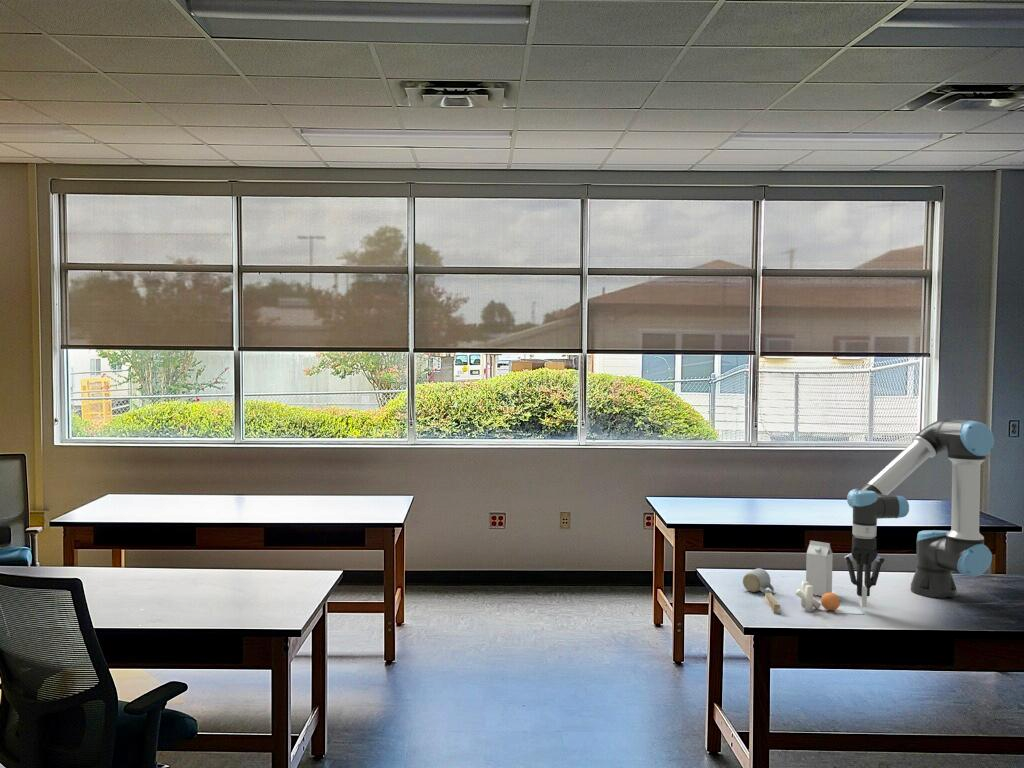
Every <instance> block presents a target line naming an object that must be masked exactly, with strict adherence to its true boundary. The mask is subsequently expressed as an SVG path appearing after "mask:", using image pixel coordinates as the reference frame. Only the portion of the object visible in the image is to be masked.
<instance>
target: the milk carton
mask: <svg viewBox="0 0 1024 768" xmlns="http://www.w3.org/2000/svg"><path fill="white" fill-rule="evenodd" d="M833 557H834V556H833V551H832V548H831V543H829V542H822V541H815V540H809V544H808V546H807V550H806V560H805V561H806V567H805V568H806V572H805V574H806V575H805V581H807V582H809V585H811V586H813V594H814V595H813V596H817V595H818V596H819V597H822V596H823V595H824V594H825V593H833ZM818 596H817V597H818Z"/></svg>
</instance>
